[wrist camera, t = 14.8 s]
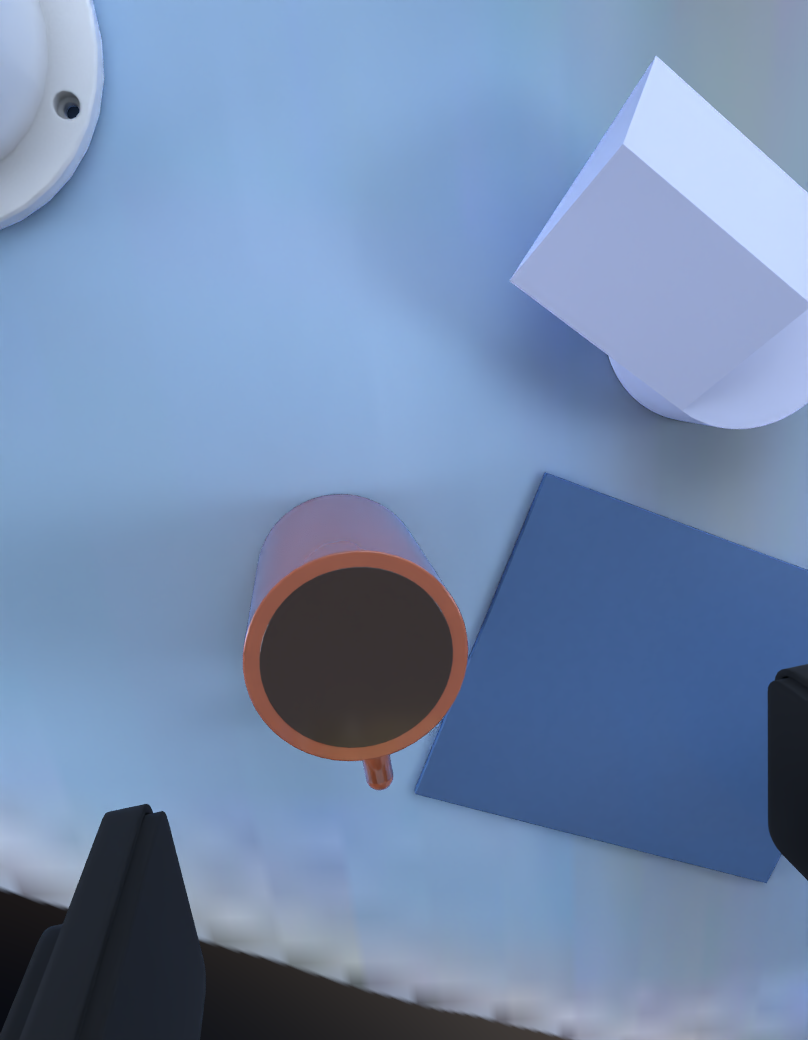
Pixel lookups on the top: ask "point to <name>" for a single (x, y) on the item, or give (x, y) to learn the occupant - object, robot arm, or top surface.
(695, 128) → the wedge on round base
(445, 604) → the mug
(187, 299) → the top surface
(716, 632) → the blue rectangular mat
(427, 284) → the top surface
